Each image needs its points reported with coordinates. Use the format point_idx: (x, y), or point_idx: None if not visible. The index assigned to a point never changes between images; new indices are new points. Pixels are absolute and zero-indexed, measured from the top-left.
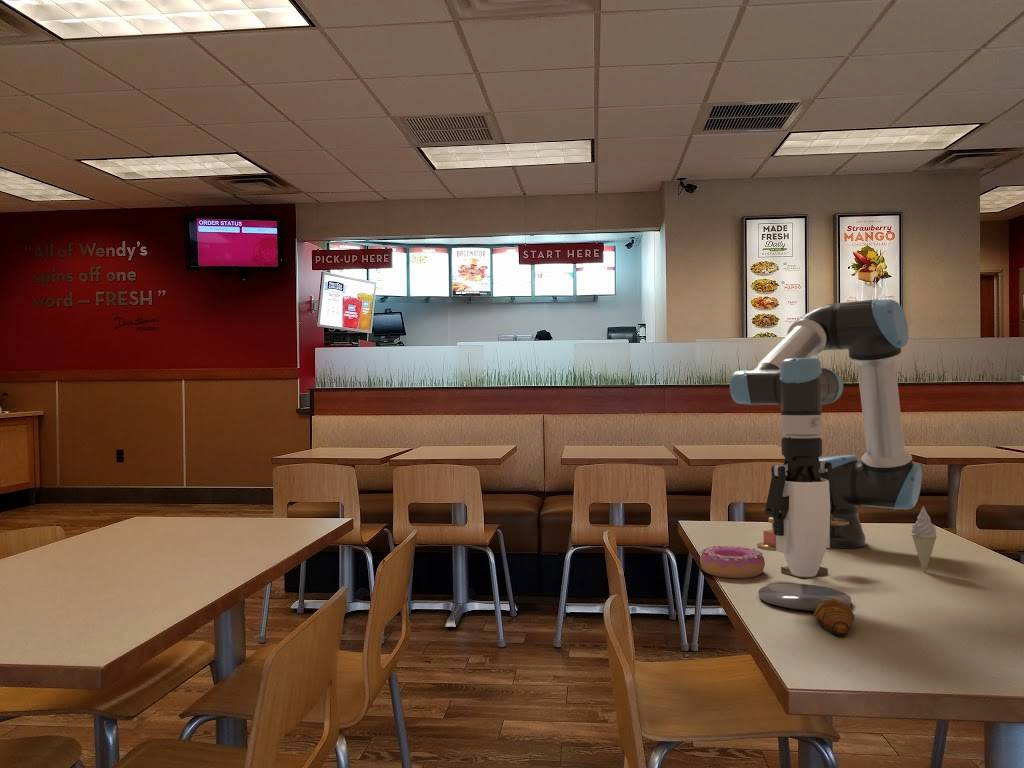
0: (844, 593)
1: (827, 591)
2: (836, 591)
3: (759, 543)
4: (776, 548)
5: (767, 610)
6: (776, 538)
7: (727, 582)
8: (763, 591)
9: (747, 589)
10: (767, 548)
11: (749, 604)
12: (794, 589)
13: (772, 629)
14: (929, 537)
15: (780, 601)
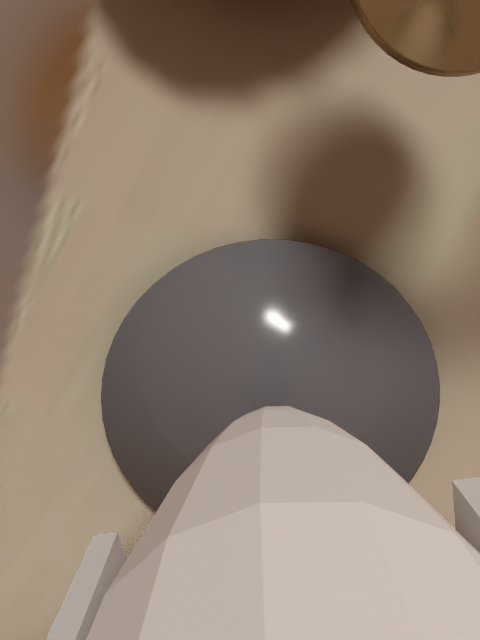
0: (428, 439)
1: (388, 398)
2: (421, 408)
3: None
4: (89, 550)
5: (81, 453)
6: (60, 615)
7: (120, 36)
8: (144, 324)
9: (150, 187)
10: (362, 12)
11: (54, 378)
12: (285, 336)
13: (5, 598)
14: None
15: (134, 455)
